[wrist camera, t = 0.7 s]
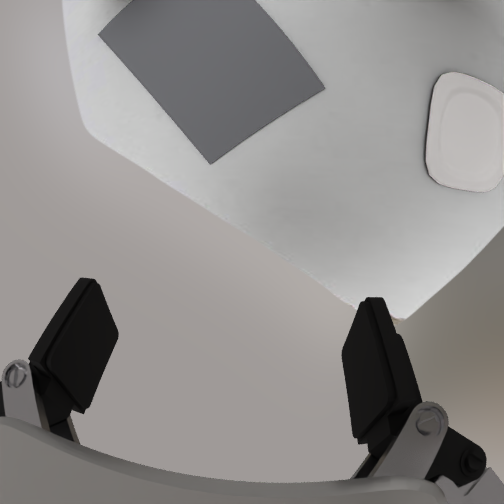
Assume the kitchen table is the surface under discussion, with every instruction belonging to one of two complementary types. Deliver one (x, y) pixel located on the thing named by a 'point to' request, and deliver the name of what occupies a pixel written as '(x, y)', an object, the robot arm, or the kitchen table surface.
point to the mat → (212, 66)
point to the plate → (465, 133)
